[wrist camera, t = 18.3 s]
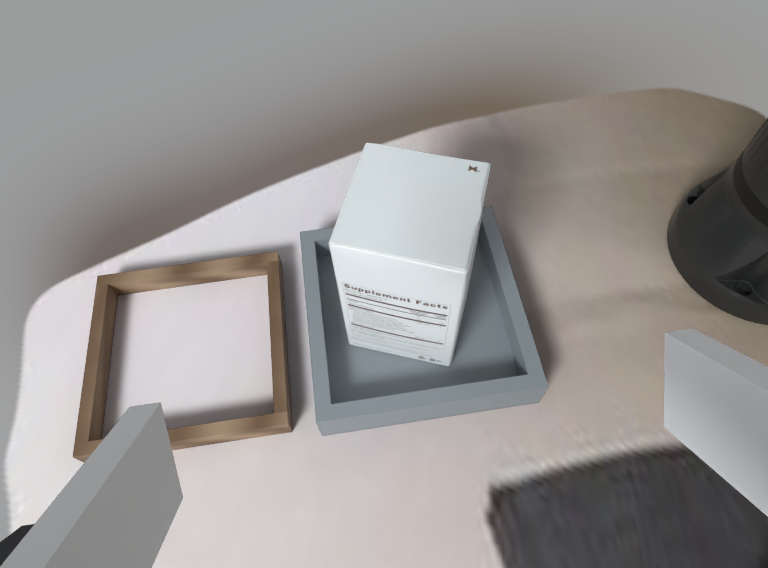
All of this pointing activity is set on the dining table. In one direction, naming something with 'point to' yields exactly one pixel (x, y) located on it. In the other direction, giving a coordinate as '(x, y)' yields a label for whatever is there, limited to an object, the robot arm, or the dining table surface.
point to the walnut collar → (169, 278)
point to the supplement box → (408, 250)
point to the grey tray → (416, 377)
